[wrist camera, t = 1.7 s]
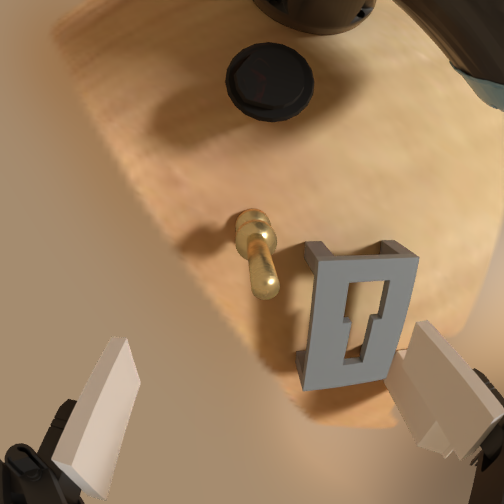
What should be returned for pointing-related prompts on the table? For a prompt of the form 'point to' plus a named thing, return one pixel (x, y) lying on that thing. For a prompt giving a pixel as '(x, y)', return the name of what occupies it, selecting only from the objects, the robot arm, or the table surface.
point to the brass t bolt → (258, 251)
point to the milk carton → (415, 409)
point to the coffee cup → (269, 82)
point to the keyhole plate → (338, 327)
